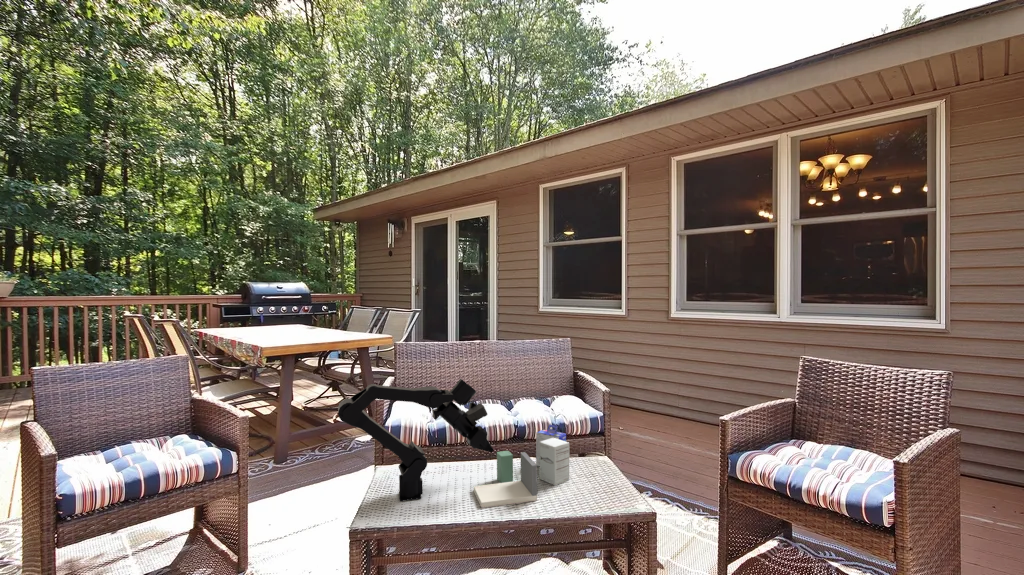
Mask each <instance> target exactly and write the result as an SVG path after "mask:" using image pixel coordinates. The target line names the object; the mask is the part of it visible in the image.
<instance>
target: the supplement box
mask: <svg viewBox="0 0 1024 575" xmlns="http://www.w3.org/2000/svg"><path fill="white" fill-rule="evenodd" d="M539 480H541V481H544V482H546V483H548V484H551V485H553V486H557V485H560V484H563V483H566V482H567V480H568V481H570V442H569V441H567V440H566V441H563V440H559V439H556V438H550V439H547V440H544V441H541V442H540V467H539ZM565 481H566V482H565ZM562 482H563V483H562Z"/></svg>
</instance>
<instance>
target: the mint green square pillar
mask: <svg viewBox="0 0 1024 575" xmlns="http://www.w3.org/2000/svg"><path fill="white" fill-rule="evenodd" d="M496 480H497V481H498V483H504V482H513V481H514V454H513V453H511V452H510V451H509V450H503V451H497V452H496Z"/></svg>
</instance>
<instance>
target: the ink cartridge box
mask: <svg viewBox="0 0 1024 575" xmlns="http://www.w3.org/2000/svg"><path fill="white" fill-rule="evenodd" d="M552 428H553V429H552ZM557 430H558V425H555V424H548V428H547V429H542V430H539V431H537V432H535V434H536V436H535V437H536V438H535V439H536V441H535V442H536V445H535V447H536V448H535V449H536V450H535V459H536V460H535V464H536V465H537V467H539V466H540V442H541V441H544V440H547V439H550V438H556V439H559V440H563V441H566V442H567V433H564V432H561V431H557Z"/></svg>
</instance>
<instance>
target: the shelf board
mask: <svg viewBox="0 0 1024 575" xmlns="http://www.w3.org/2000/svg"><path fill="white" fill-rule="evenodd" d="M473 492H474V495H475V497H476V499H477V501H478V503H479V505H480V508H482V509H483V508H491V507H492V508H493V507H497V506H506V505H511V504H513V505H514V504H521V503H527V502H535V501H538V466H537V465H536V462H535V461H534V460H533V459H532V458H531V456H529V455H528V453H527V452H524V451H523V452H520V480H515V481H514V480H513V482H504V483H500V482H497V483H489V484H482V485H480V484H479V485H474V486H473Z"/></svg>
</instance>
